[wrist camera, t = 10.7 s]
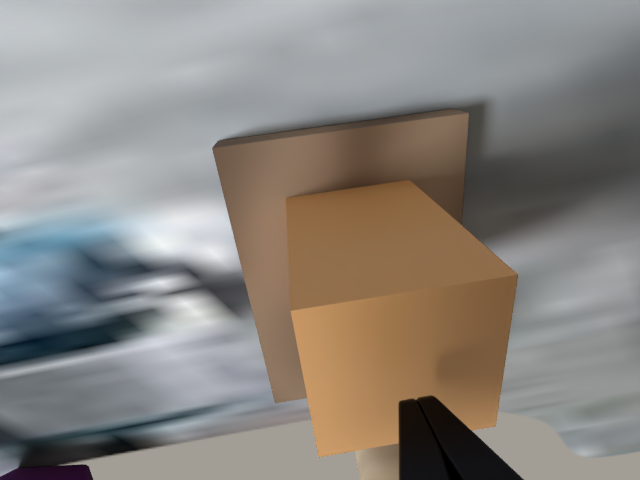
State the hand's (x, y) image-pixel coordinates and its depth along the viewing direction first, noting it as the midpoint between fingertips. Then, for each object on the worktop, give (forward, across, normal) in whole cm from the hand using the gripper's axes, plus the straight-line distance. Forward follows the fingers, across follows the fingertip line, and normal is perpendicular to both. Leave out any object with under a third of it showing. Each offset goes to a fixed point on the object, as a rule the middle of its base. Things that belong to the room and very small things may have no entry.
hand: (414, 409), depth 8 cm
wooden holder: (+10, 0, +2) cm, 10 cm away
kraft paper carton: (+8, 0, 0) cm, 9 cm away
